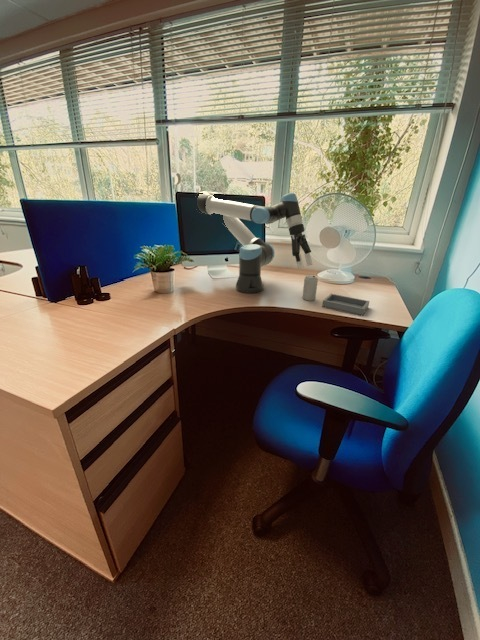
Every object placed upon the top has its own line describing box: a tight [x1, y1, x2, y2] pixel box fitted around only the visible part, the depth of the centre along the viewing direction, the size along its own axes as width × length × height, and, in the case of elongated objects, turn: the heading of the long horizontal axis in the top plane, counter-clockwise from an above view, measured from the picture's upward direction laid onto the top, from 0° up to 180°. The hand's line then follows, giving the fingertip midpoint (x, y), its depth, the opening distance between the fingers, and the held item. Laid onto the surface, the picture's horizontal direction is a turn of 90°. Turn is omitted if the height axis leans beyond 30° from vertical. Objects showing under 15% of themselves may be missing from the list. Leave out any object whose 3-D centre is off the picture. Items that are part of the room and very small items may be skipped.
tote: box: [321, 293, 370, 317], centre depth 123 cm, size 18×12×3 cm, turn 55°
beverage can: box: [302, 274, 319, 302], centre depth 130 cm, size 6×6×12 cm
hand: (305, 266), depth 136 cm, fingers open, 13 cm apart
